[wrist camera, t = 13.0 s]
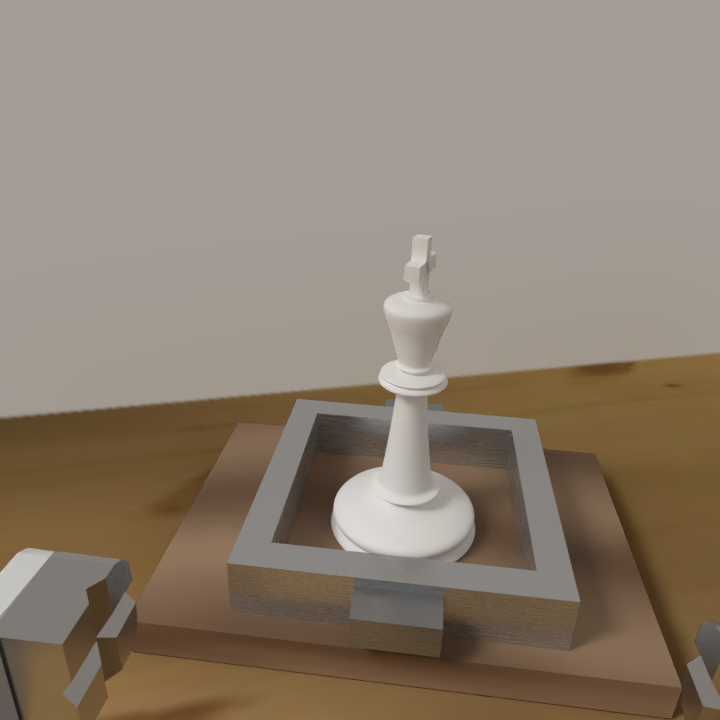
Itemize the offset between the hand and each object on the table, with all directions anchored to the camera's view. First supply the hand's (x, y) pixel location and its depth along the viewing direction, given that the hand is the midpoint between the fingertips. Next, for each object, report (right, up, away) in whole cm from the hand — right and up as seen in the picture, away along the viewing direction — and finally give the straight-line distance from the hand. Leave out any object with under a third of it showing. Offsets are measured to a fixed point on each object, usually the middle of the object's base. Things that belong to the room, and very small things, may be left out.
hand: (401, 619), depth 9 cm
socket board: (+1, -3, +14) cm, 14 cm away
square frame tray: (+1, -2, +13) cm, 13 cm away
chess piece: (+1, -2, +13) cm, 13 cm away
